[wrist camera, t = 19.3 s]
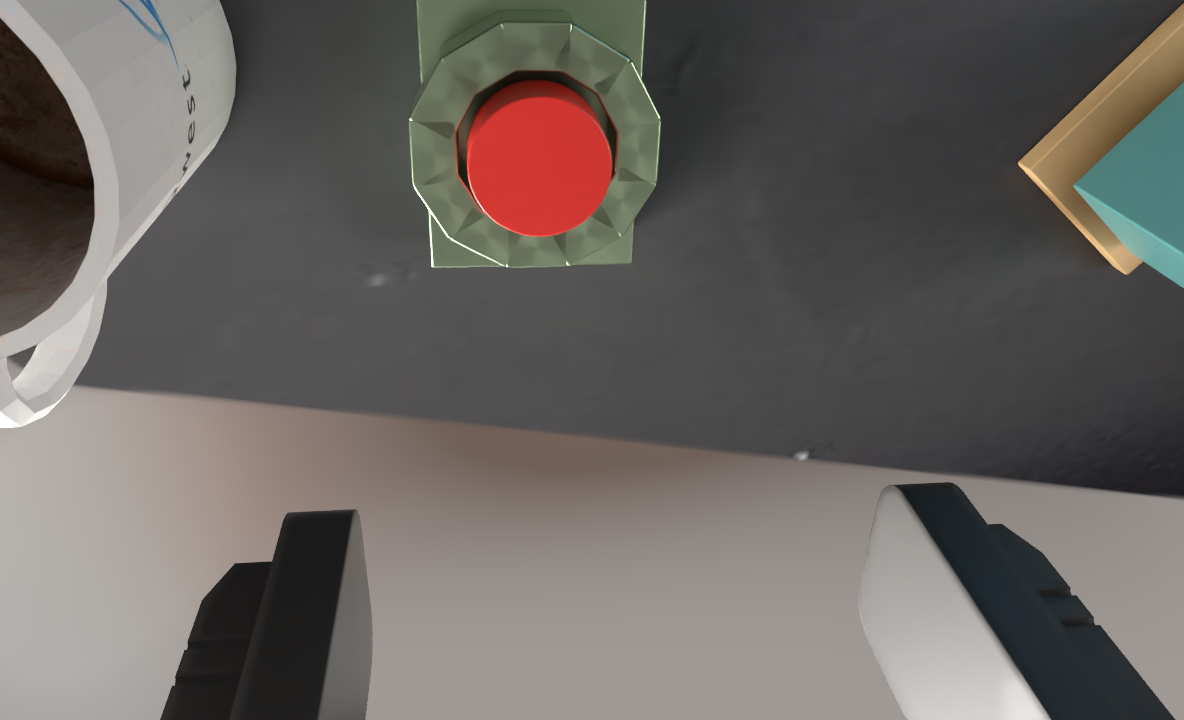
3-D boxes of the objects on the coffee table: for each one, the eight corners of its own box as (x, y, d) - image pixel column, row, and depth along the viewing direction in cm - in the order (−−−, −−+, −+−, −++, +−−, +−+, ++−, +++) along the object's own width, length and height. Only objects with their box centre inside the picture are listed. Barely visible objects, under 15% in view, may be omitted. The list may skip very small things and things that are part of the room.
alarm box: (644, -30, 26) (671, -9, 22) (629, 237, 30) (651, 290, 26) (408, -34, 25) (399, -14, 22) (425, 240, 29) (419, 295, 26)
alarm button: (606, 79, 24) (615, 96, 22) (601, 212, 25) (609, 236, 24) (464, 78, 23) (464, 95, 22) (469, 214, 25) (470, 238, 24)
